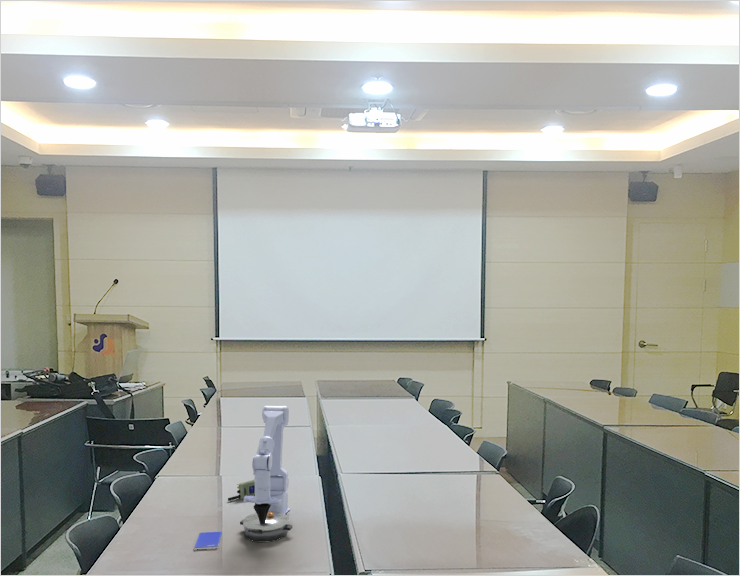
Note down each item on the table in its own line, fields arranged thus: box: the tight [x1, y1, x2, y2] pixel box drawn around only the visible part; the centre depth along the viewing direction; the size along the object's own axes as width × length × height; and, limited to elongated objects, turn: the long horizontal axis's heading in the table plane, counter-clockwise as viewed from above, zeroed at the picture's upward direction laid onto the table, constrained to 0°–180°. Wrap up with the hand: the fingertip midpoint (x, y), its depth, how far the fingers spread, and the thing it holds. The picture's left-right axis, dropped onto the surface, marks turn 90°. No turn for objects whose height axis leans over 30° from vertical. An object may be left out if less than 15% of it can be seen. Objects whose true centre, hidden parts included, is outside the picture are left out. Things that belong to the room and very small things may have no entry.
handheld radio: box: [227, 475, 279, 502], centre depth 268 cm, size 7×3×25 cm
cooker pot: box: [239, 519, 293, 542], centre depth 230 cm, size 18×20×4 cm
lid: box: [242, 511, 290, 533], centre depth 228 cm, size 18×17×2 cm
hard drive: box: [193, 531, 223, 551], centre depth 221 cm, size 2×8×12 cm
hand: (262, 522), depth 226 cm, fingers closed
